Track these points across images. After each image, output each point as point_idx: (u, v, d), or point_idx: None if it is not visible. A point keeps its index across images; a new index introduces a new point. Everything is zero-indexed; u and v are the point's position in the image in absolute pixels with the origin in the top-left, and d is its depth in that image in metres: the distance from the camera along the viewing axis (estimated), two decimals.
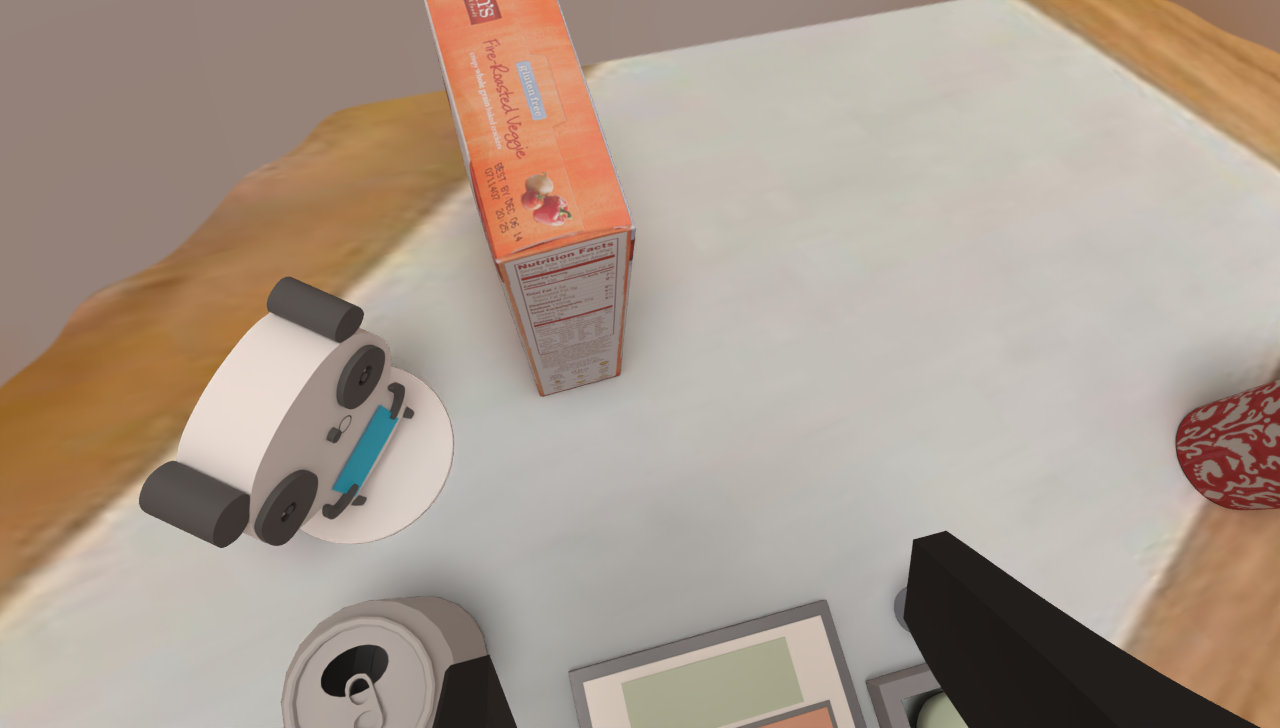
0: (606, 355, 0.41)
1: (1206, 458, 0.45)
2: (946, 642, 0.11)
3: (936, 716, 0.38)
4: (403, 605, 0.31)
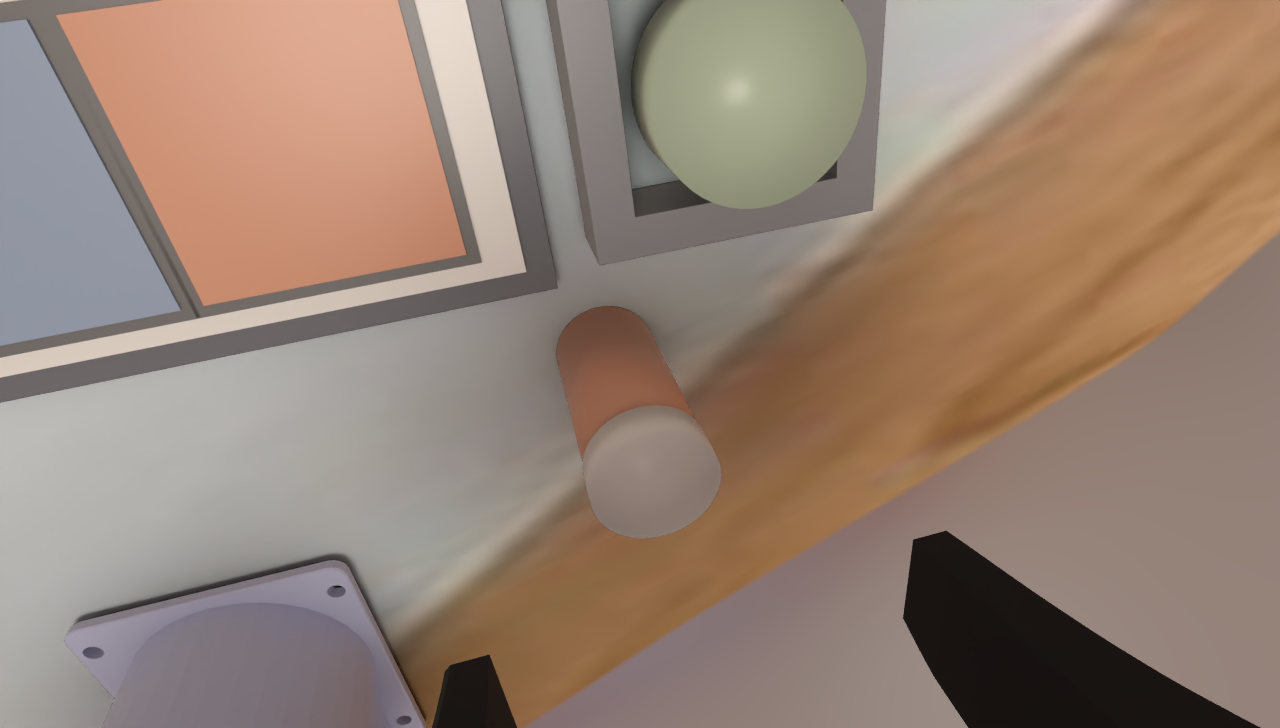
0: None
1: None
2: (947, 642, 0.11)
3: (680, 19, 0.13)
4: None
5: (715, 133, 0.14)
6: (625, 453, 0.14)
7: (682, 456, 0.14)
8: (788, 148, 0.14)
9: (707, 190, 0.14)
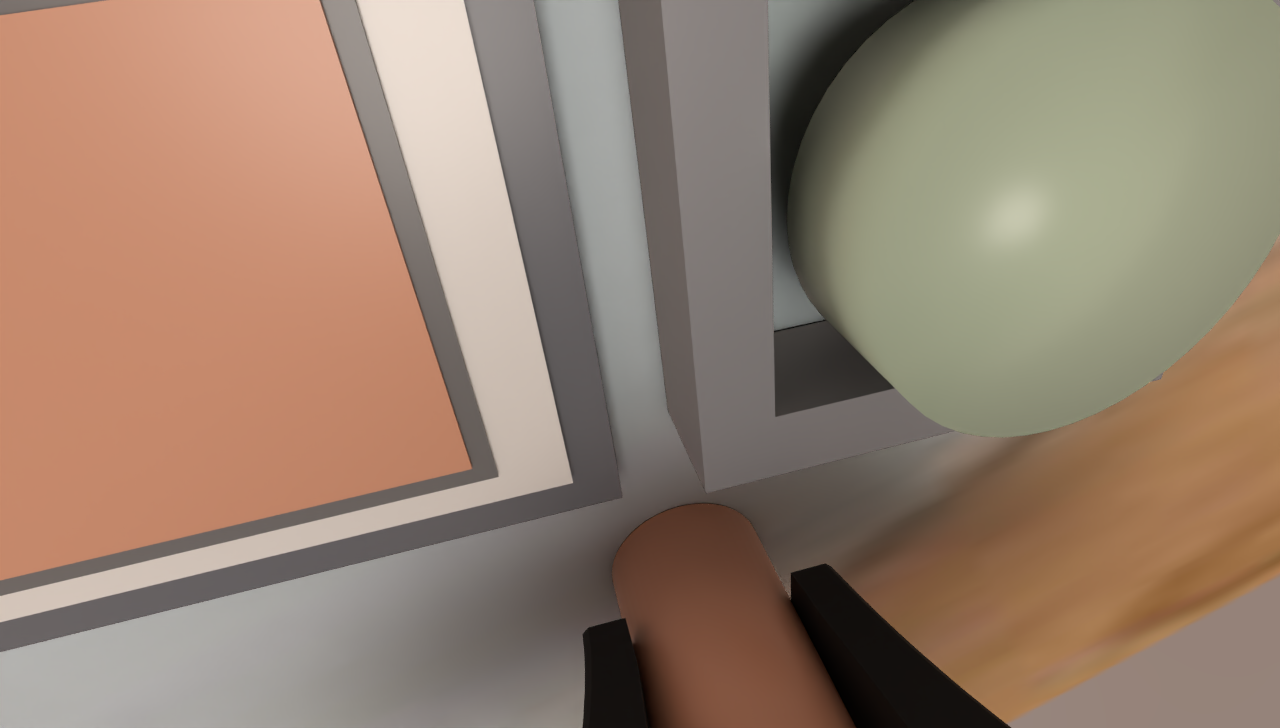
0: None
1: None
2: None
3: (965, 87, 0.05)
4: None
5: (991, 313, 0.07)
6: None
7: None
8: (1119, 328, 0.07)
9: (953, 412, 0.07)
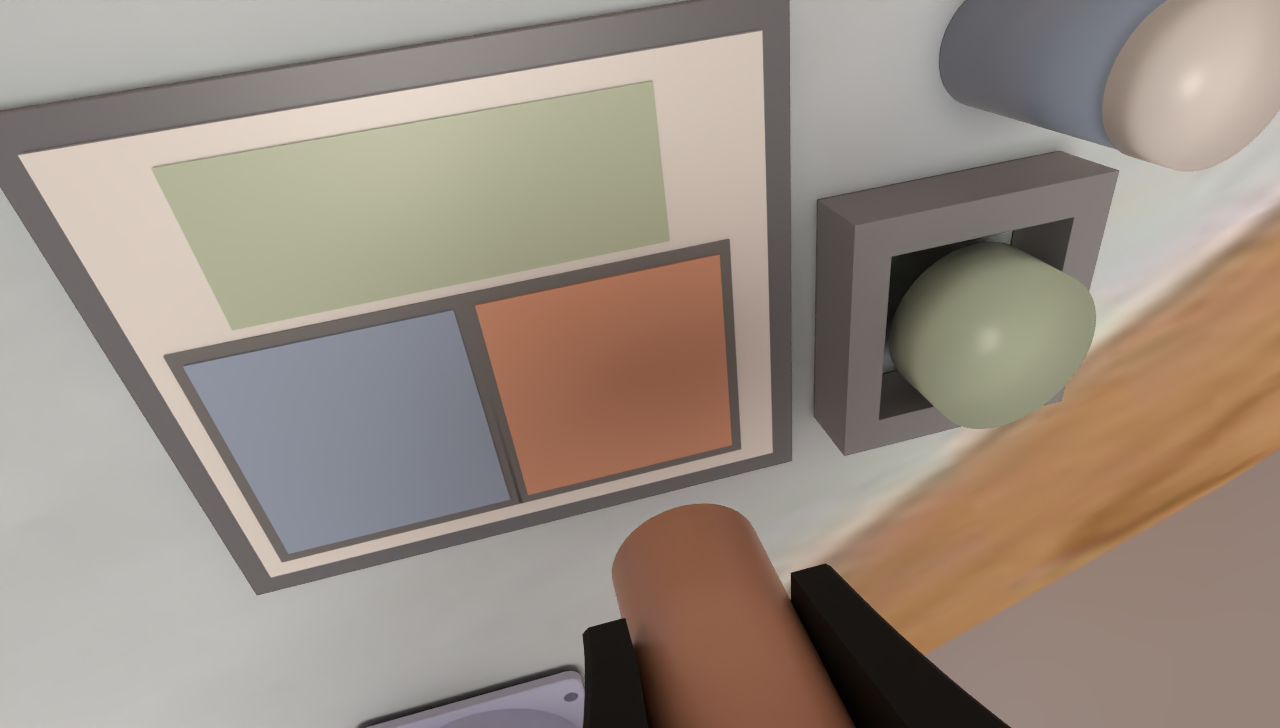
0: None
1: None
2: None
3: (965, 308, 0.16)
4: None
5: (975, 380, 0.17)
6: None
7: None
8: (1027, 385, 0.18)
9: (960, 418, 0.18)
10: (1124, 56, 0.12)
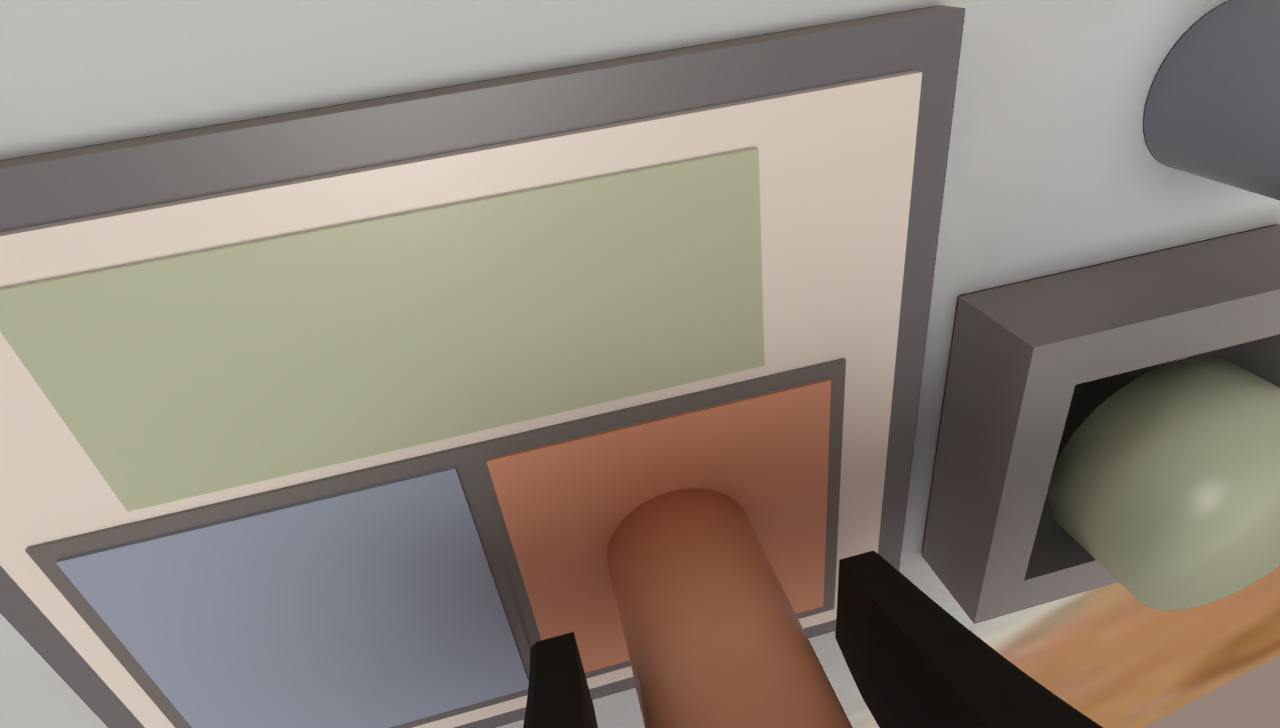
0: None
1: None
2: (871, 664, 0.11)
3: (1193, 469, 0.11)
4: None
5: (1187, 555, 0.12)
6: None
7: None
8: (1250, 555, 0.13)
9: (1157, 600, 0.13)
10: None
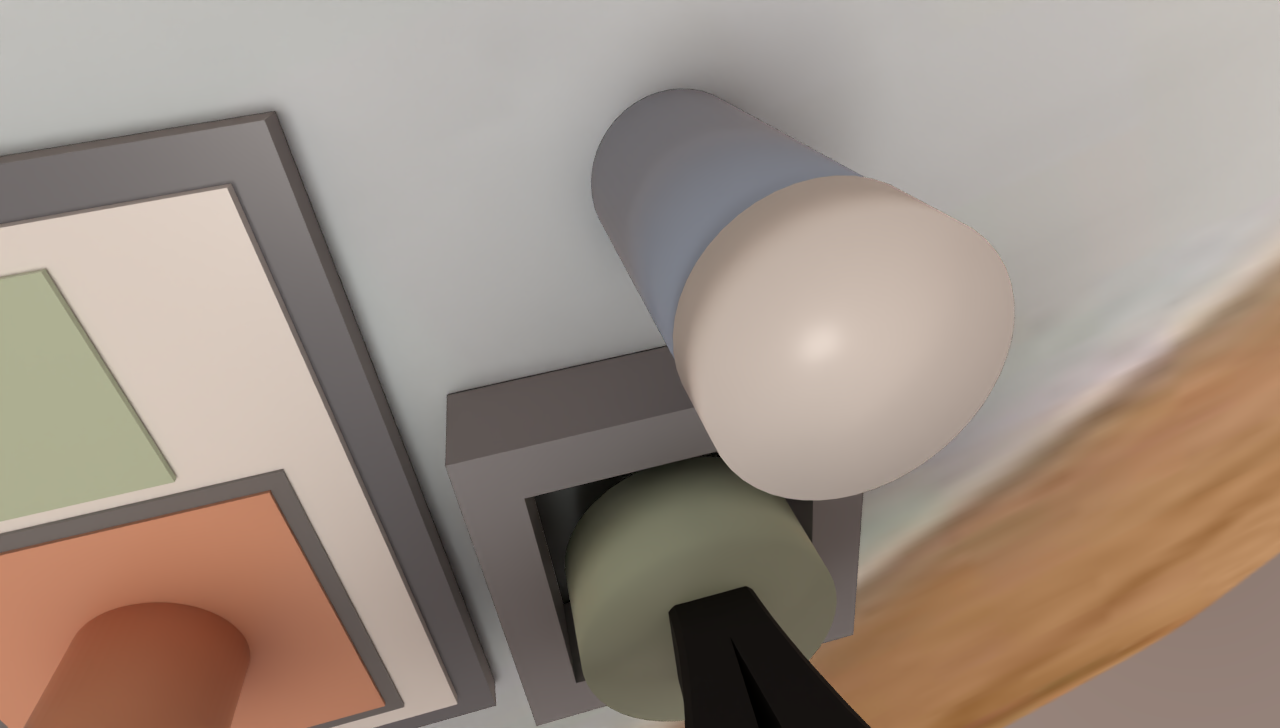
0: None
1: None
2: None
3: (610, 591, 0.10)
4: None
5: (659, 671, 0.12)
6: None
7: None
8: None
9: (651, 713, 0.12)
10: (683, 305, 0.06)
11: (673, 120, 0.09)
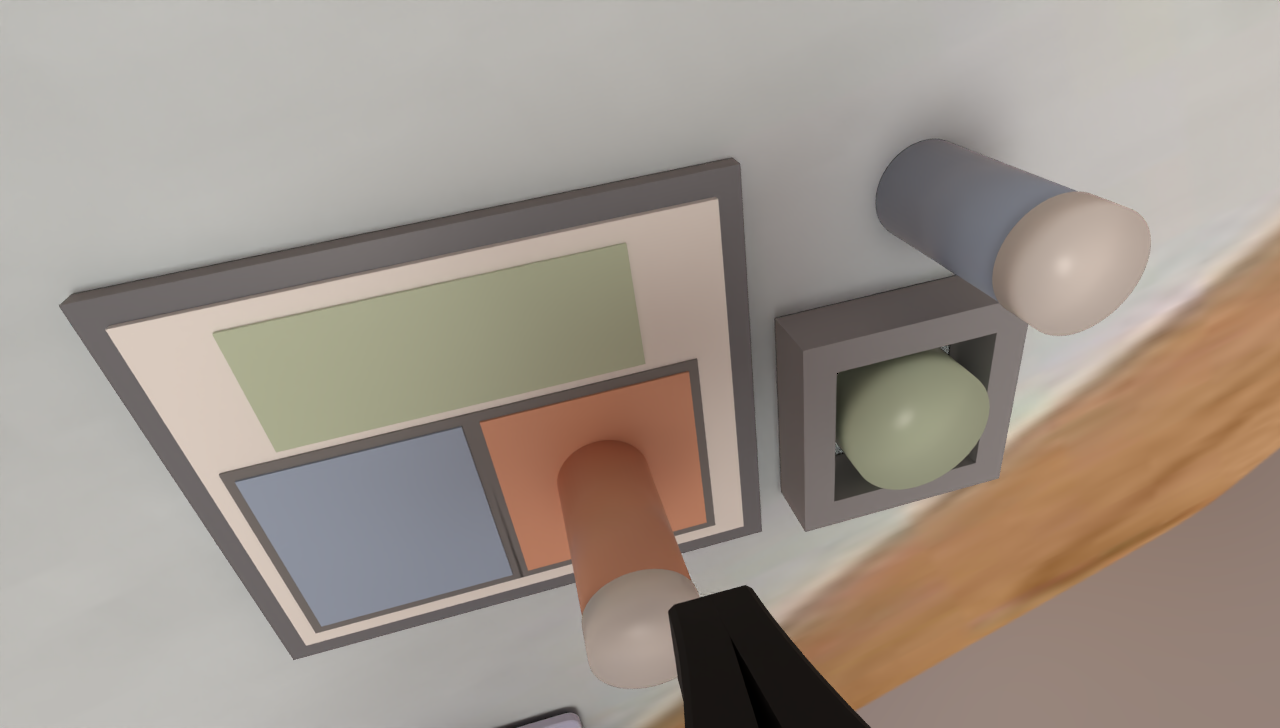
0: None
1: None
2: None
3: (876, 398, 0.20)
4: None
5: (890, 452, 0.21)
6: (618, 624, 0.15)
7: None
8: (935, 454, 0.21)
9: (881, 482, 0.21)
10: (1005, 248, 0.15)
11: (949, 160, 0.17)
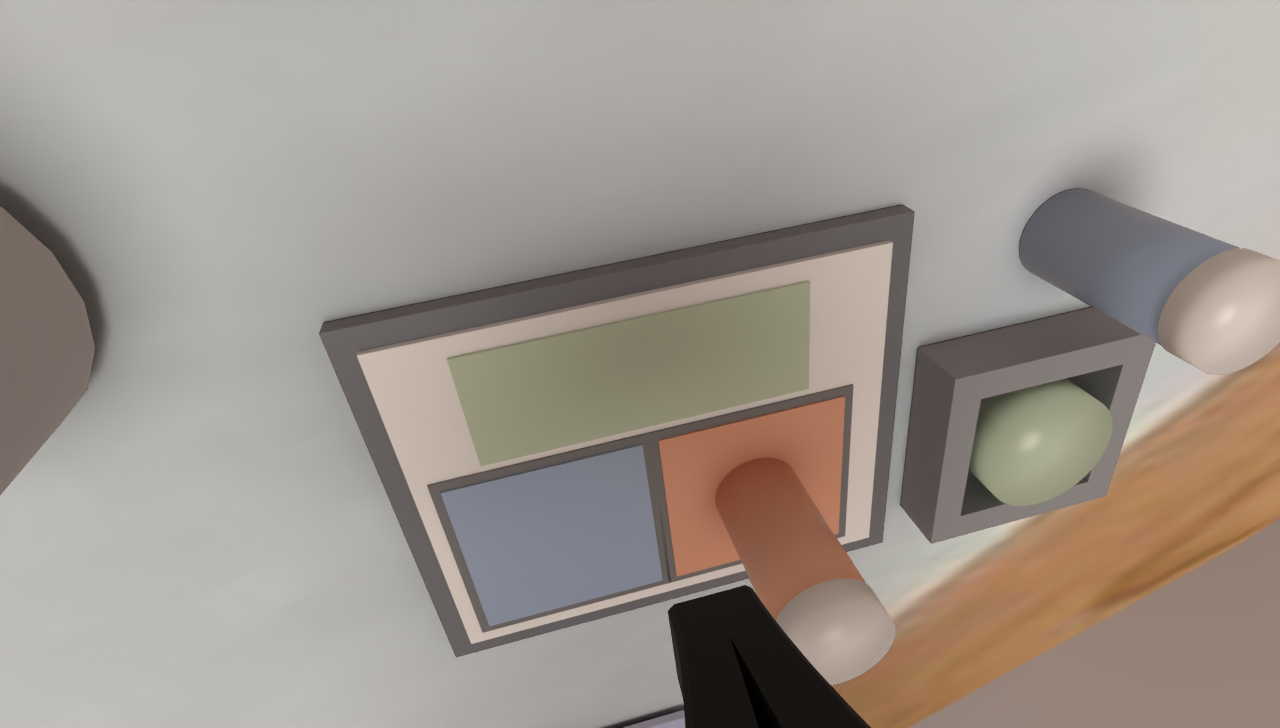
0: None
1: None
2: None
3: (1016, 423, 0.22)
4: None
5: (1020, 472, 0.23)
6: (821, 628, 0.17)
7: (866, 625, 0.17)
8: (1059, 473, 0.23)
9: (1008, 499, 0.23)
10: (1176, 297, 0.16)
11: (1101, 211, 0.19)
